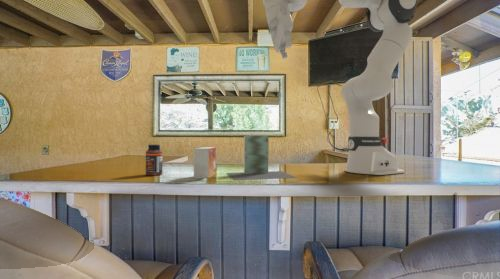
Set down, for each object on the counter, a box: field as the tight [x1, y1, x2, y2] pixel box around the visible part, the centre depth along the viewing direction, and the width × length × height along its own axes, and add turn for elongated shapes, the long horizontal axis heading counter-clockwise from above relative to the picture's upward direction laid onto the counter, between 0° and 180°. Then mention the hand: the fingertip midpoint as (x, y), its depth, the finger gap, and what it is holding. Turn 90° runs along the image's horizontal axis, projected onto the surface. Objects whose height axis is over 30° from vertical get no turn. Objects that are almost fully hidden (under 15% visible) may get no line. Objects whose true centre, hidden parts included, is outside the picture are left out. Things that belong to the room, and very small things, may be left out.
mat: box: [225, 170, 298, 181], centre depth 100 cm, size 22×16×1 cm
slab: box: [243, 135, 269, 174], centre depth 105 cm, size 9×1×14 cm, turn 104°
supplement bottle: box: [145, 143, 163, 177], centre depth 105 cm, size 6×6×11 cm
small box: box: [193, 146, 217, 180], centre depth 99 cm, size 8×6×10 cm
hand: (287, 52), depth 104 cm, fingers open, 8 cm apart
